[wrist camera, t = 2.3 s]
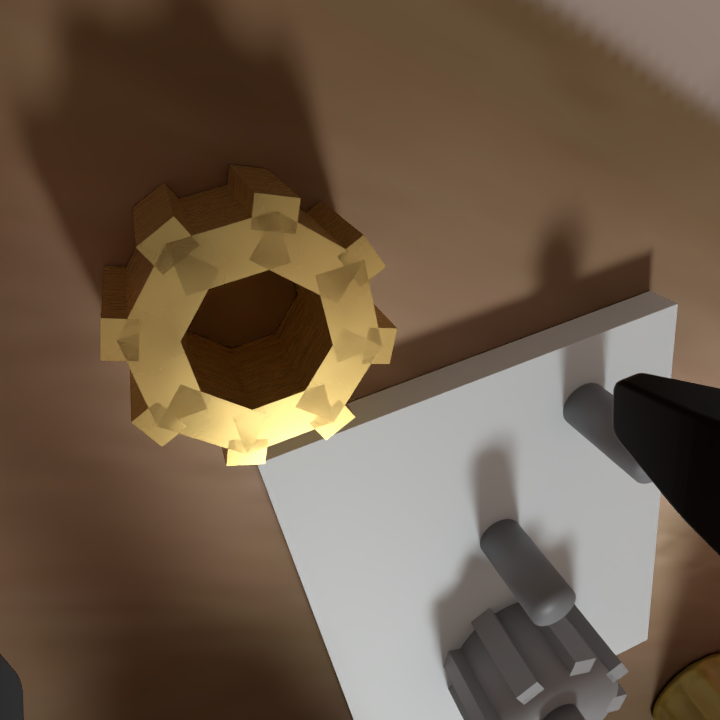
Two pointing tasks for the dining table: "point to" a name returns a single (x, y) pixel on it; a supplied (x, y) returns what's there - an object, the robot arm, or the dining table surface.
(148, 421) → the gear
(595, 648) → the gear board
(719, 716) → the vase
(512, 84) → the dining table surface
